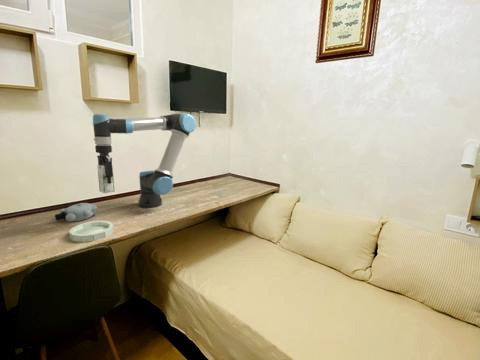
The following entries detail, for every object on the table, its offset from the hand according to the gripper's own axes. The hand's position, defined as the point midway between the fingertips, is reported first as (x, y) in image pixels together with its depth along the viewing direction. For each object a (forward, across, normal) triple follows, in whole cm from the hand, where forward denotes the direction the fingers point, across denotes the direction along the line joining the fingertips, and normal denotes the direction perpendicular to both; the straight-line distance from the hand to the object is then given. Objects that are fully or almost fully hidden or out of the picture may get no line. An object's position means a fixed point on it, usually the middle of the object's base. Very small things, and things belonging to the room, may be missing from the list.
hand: (106, 188), depth 135 cm
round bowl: (+19, +11, -12) cm, 25 cm away
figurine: (+19, -17, -11) cm, 28 cm away
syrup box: (+2, 0, 0) cm, 2 cm away
